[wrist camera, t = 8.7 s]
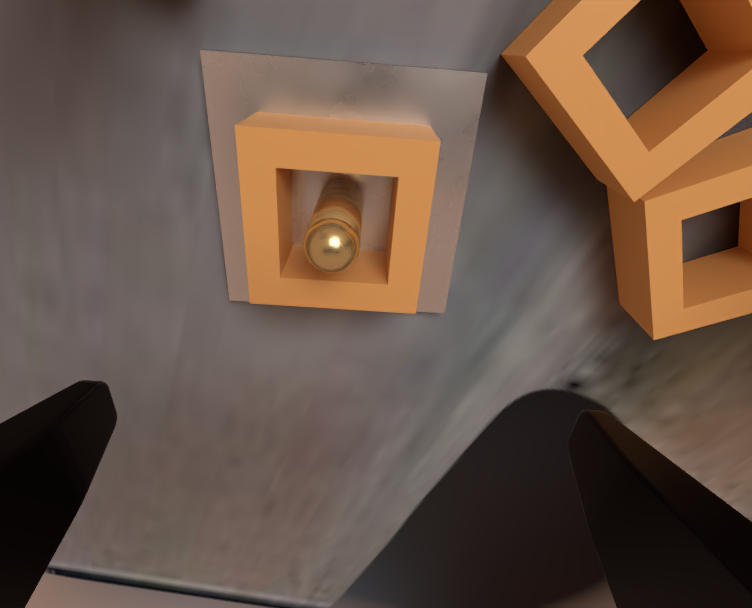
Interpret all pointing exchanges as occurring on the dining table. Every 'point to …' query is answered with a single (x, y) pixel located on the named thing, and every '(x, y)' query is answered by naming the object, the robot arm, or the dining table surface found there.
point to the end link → (342, 155)
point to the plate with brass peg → (344, 190)
